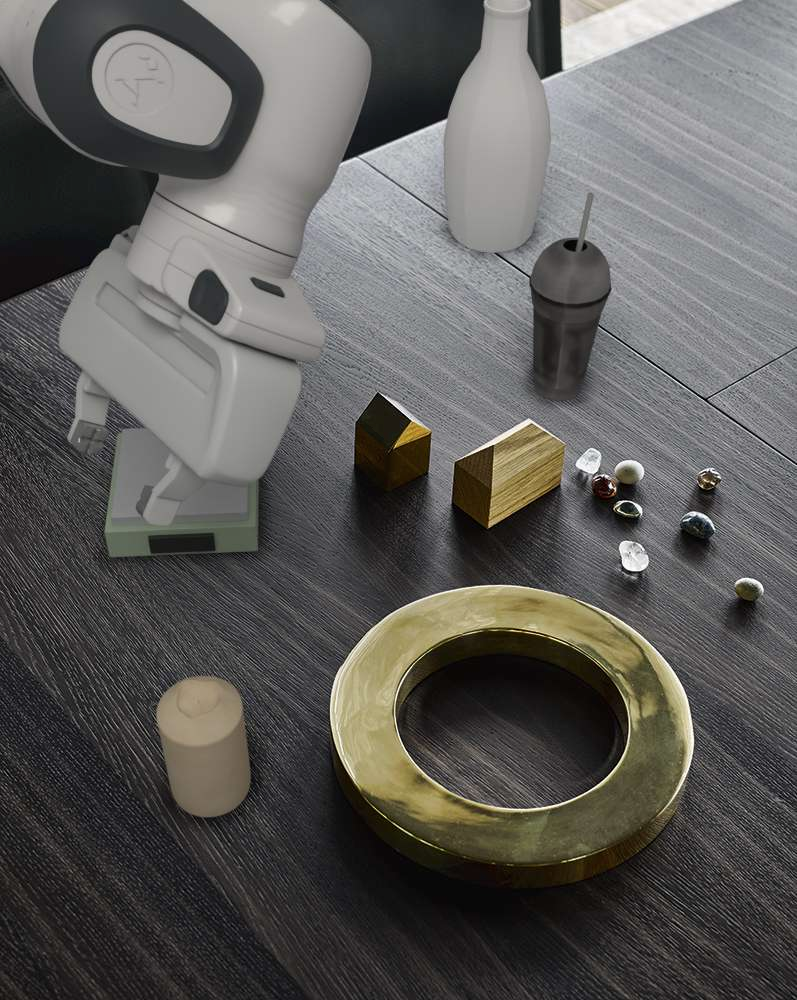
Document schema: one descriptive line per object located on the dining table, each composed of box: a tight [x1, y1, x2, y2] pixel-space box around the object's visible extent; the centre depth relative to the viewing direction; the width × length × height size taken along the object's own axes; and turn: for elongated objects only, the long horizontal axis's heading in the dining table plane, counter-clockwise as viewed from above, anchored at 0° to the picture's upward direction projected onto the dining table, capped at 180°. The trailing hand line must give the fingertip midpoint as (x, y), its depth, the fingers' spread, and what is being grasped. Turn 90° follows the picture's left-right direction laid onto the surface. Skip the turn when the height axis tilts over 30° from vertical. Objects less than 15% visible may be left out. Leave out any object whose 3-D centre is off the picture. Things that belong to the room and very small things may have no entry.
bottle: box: [443, 0, 552, 254], centre depth 129 cm, size 11×11×25 cm
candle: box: [155, 675, 252, 818], centre depth 83 cm, size 6×6×10 cm
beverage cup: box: [528, 191, 612, 402], centre depth 112 cm, size 7×7×20 cm
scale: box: [103, 427, 260, 558], centre depth 105 cm, size 12×12×4 cm
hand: (115, 483), depth 75 cm, fingers open, 8 cm apart
